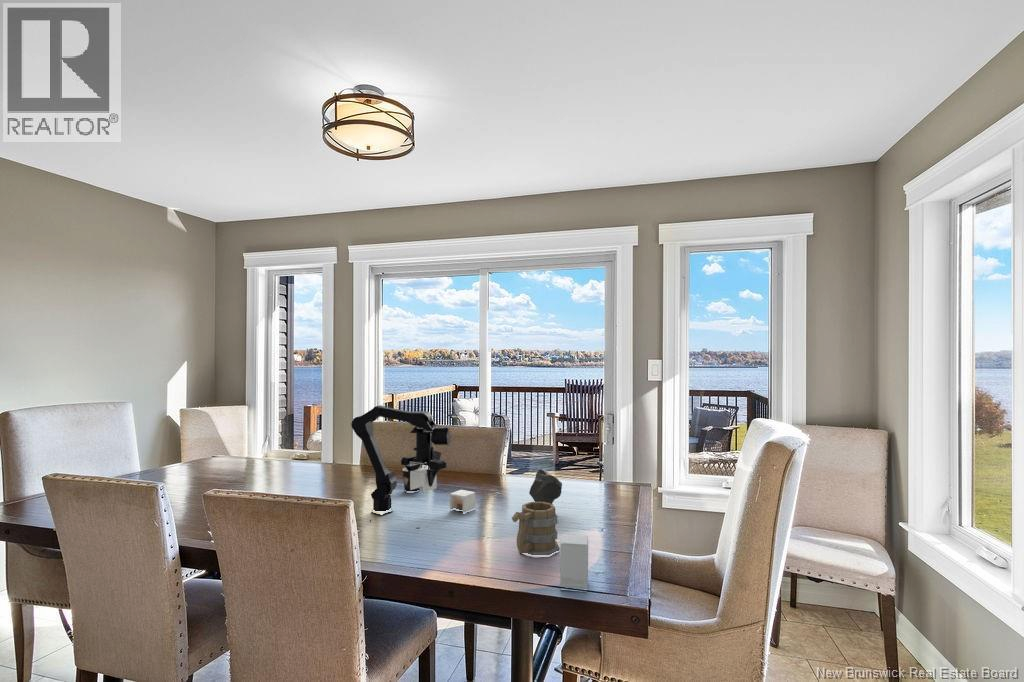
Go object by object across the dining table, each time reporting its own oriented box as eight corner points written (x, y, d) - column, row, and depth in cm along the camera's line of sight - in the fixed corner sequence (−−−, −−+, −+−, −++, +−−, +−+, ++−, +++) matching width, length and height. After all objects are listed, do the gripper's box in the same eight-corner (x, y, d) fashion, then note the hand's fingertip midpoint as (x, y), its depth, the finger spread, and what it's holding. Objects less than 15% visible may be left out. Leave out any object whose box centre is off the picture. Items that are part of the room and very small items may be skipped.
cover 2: (464, 514, 202) (464, 496, 202) (449, 511, 206) (450, 493, 206) (475, 509, 208) (475, 492, 208) (460, 506, 212) (460, 489, 212)
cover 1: (424, 492, 197) (424, 473, 198) (410, 489, 201) (410, 471, 201) (436, 488, 203) (436, 470, 203) (422, 485, 207) (422, 467, 207)
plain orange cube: (463, 513, 204) (463, 502, 204) (455, 511, 206) (455, 501, 206) (469, 510, 208) (469, 500, 208) (461, 508, 210) (461, 498, 210)
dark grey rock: (569, 512, 205) (569, 466, 205) (556, 524, 191) (556, 474, 191) (535, 507, 211) (535, 462, 211) (520, 518, 197) (520, 470, 197)
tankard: (534, 540, 175) (534, 495, 175) (566, 549, 167) (566, 502, 167) (495, 558, 160) (495, 509, 160) (528, 569, 152) (528, 517, 152)
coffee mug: (400, 490, 237) (400, 468, 237) (418, 488, 240) (419, 466, 241) (406, 496, 226) (406, 473, 226) (425, 494, 230) (425, 471, 230)
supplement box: (587, 593, 137) (587, 544, 137) (559, 591, 138) (559, 542, 138) (588, 581, 144) (588, 535, 144) (561, 578, 145) (561, 533, 146)
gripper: (455, 443, 204) (455, 483, 204) (419, 439, 214) (419, 477, 214) (436, 448, 195) (436, 490, 195) (400, 443, 205) (400, 483, 205)
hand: (423, 484), depth 202 cm, fingers closed on cover 1, 7 cm apart
